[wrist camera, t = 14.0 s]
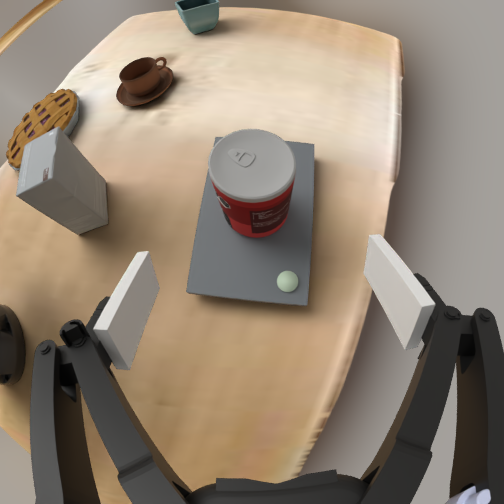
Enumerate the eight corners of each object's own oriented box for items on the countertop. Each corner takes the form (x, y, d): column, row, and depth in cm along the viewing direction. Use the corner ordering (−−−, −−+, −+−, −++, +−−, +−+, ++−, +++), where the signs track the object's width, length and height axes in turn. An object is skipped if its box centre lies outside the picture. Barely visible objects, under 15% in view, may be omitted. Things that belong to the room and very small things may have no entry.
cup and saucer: (142, 70, 48) (133, 50, 42) (186, 74, 47) (179, 51, 41) (109, 107, 46) (96, 87, 40) (152, 114, 44) (141, 91, 38)
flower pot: (224, 30, 51) (219, 1, 42) (188, 40, 50) (181, 11, 42) (213, 19, 53) (208, -8, 45) (180, 28, 53) (174, 2, 44)
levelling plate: (192, 295, 35) (185, 291, 32) (218, 148, 41) (215, 135, 37) (303, 307, 34) (307, 305, 31) (311, 155, 40) (314, 142, 36)
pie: (101, 112, 45) (90, 97, 41) (30, 193, 42) (15, 182, 37) (64, 90, 50) (56, 78, 45) (7, 154, 46) (-4, 144, 41)
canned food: (234, 177, 36) (223, 122, 25) (294, 191, 35) (304, 138, 24) (215, 230, 34) (194, 187, 23) (279, 247, 33) (285, 209, 22)
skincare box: (77, 193, 40) (21, 144, 25) (111, 179, 40) (59, 121, 25) (77, 238, 38) (10, 198, 23) (113, 225, 38) (50, 174, 23)
